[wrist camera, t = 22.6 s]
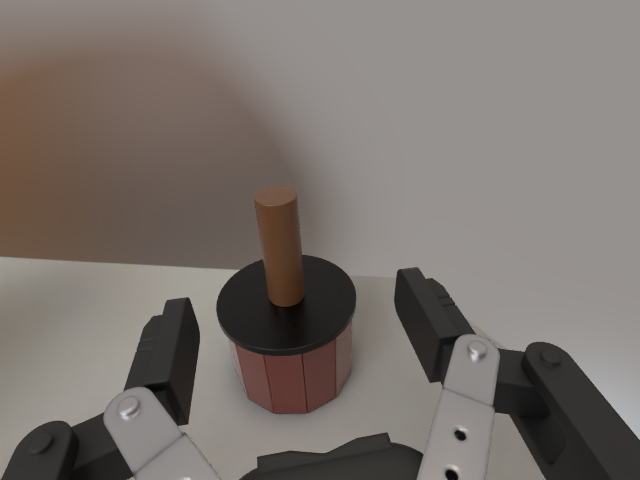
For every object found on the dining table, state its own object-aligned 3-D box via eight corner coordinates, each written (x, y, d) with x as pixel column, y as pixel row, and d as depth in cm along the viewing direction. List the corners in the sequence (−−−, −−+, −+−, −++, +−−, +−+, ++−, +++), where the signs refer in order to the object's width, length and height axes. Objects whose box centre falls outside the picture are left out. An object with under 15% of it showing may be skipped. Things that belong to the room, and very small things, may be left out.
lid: (378, 282, 28) (385, 179, 23) (309, 382, 21) (299, 263, 16) (273, 247, 32) (261, 155, 28) (187, 320, 25) (151, 212, 21)
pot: (367, 344, 32) (371, 283, 28) (313, 436, 25) (308, 373, 21) (282, 309, 36) (274, 251, 32) (215, 380, 29) (196, 318, 25)
